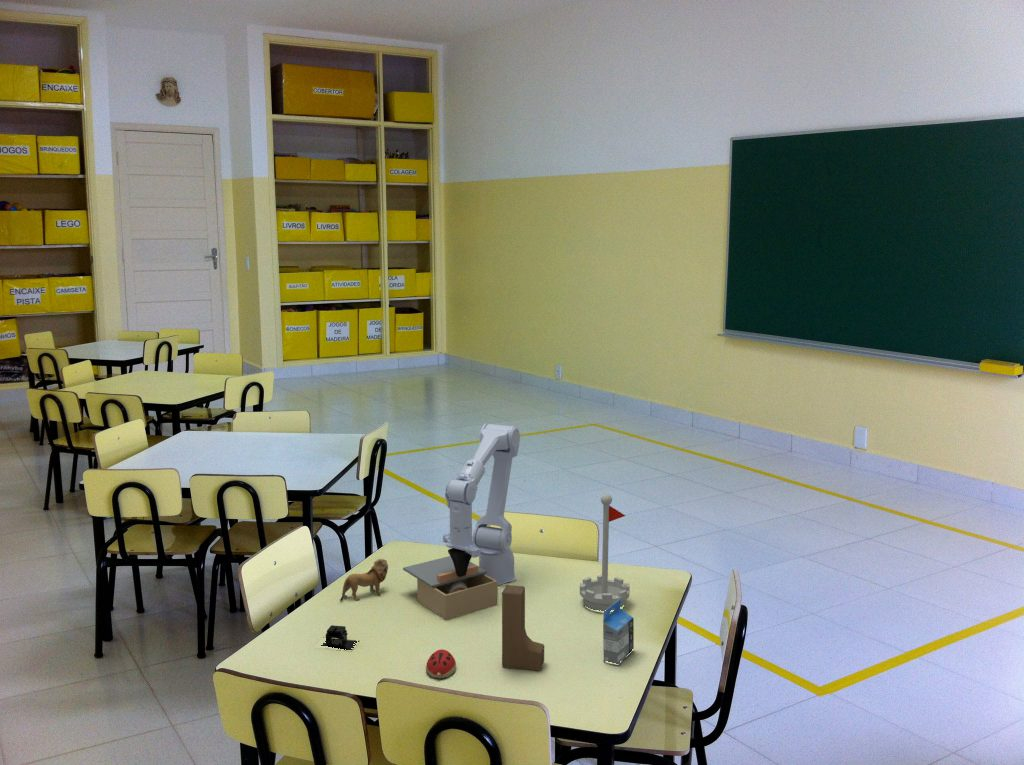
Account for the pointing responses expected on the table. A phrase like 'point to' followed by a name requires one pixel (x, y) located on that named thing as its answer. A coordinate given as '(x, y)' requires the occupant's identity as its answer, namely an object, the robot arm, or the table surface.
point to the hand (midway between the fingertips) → (461, 575)
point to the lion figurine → (366, 579)
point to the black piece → (342, 640)
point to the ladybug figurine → (441, 664)
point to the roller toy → (455, 587)
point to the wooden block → (518, 633)
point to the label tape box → (617, 634)
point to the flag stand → (605, 571)
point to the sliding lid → (441, 571)
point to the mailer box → (459, 597)
